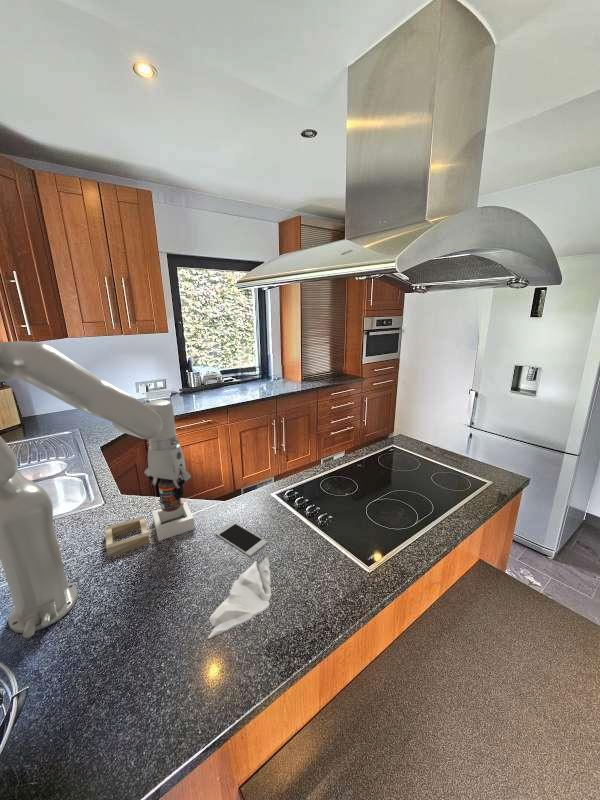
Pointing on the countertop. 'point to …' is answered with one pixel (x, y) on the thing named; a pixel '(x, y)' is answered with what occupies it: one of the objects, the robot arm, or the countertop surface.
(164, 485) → the supplement bottle
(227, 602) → the cloth
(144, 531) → the block
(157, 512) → the socket block
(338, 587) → the countertop surface
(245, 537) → the smartphone
